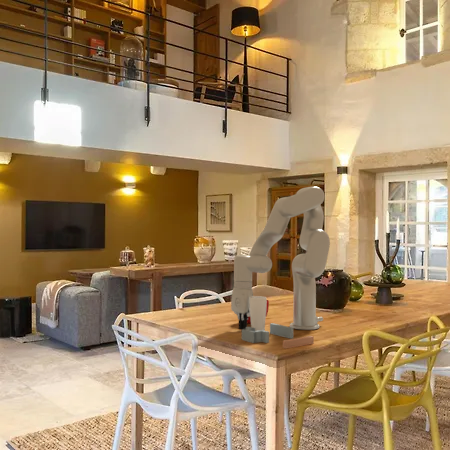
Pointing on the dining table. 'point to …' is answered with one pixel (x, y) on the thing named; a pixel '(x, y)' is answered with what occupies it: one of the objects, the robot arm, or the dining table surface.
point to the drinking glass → (258, 312)
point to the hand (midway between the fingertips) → (242, 329)
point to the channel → (276, 329)
